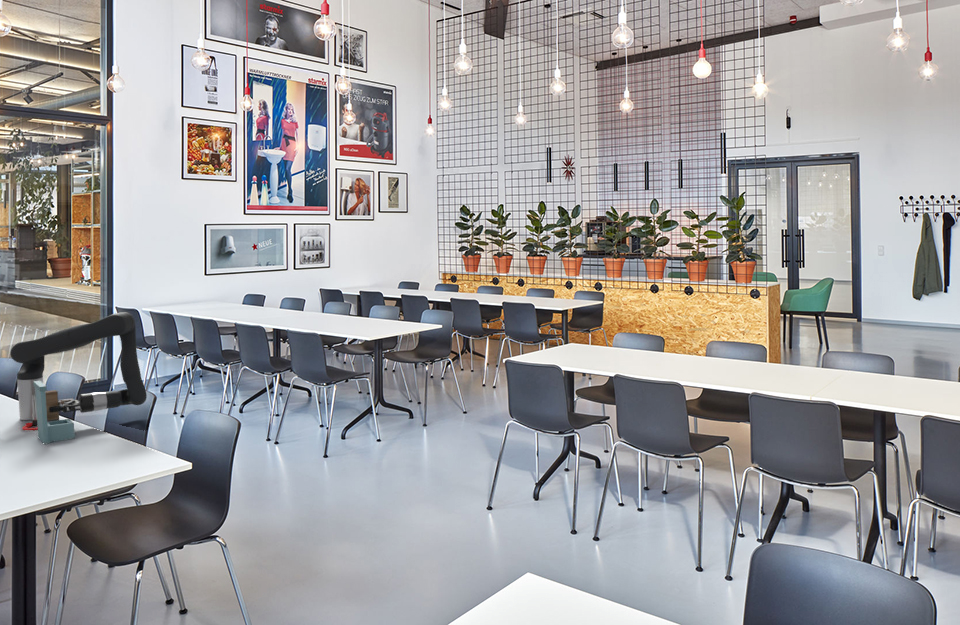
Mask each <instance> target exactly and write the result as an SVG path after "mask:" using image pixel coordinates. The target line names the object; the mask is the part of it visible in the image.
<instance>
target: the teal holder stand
mask: <svg viewBox="0 0 960 625" xmlns="http://www.w3.org/2000/svg"><path fill="white" fill-rule="evenodd" d="M33 384H34V387H35V393H36V409H37V424H38V426H37V427H38V430H37V437H39V438H40V439H39V438H38V439H39V440H40V442H41V443H42V442H43V443H44V444H43V443H42V444H43V445H46V443H52V442H51V441H54V442H59V441H58V440H60V441H65V440H64V439H66V440H70V438H73V439H75V438H76V437H75V436H76V435H75V423H74V422H73V420H72V419H70V418H65V419H59V420H57V421H50V422H47V410H46V394H45V391H48V388H47V385H46V384H45V383H44V382H43V383H42V382H41V381H33Z"/></svg>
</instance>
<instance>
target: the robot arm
mask: <svg viewBox="0 0 960 625" xmlns="http://www.w3.org/2000/svg"><path fill="white" fill-rule="evenodd" d="M136 334H137V333H136V321H135V318H134V316H133V315H132V314H131V313H130V312H126V311H122V312H121V311H120V312H117V313H112V314H109V315H108V316H105V317H103V318H101V319H99V320H96V321H93V322H90V323H89V322H87V323H82V324H77V325H73V326H69V327H67V328H63V329H60V330H58V331H55V332H52V333H50V334H48V335H45V336H43V337H39V338H37V339H29V340H24V341H20V342H17V343H16V344H14V345H13V346H12V347H11V349H10V354H9V355H10V357H11V359H12V361H14V362H16V363H18V364H22V366H21V368H20V369H19V370H18V371H17V373H16V378H17V392H18V395H17V396H18V409H19V420H20V421H32V419H33V416H32V414H33V407H32V400H33V399H32V395H34V396H35V401H36V393H35V387H34V384H33V381H41V382H42V383H43V384H44V377H43V376H44V372H45V367H46V366H45V356H47V355H52V354H58V353H64V352H68V351H72V350H75V349H79V348H82V347H85V346H87V345H89V344H91V343H93V342H95V341H98V340H101V339H104V338H105V339H106V338H110V337H117V336H119V338H120V344H121V350H120V357H119V358H120V359H119V362H120V364H119V366H120V367H119V368H120V371H121V377H122V381H123V383H124V384H125V385H126V388H124V389H120V390H111V391H99V392H98V391H97V392H89V393H87V392H86V393H80V394H78V399H74V398H72V397H71V398H65V399H58V406H53V407H49V412H50V413H52V412H59V413H60V412H61V413H69V412H77V411H78V412H80V413H81V414H83V413H90V412H98V411H103V410H107V409H115V408H119V407H120V406H128V405H132V406H133V405H134V406H141V405H143V404H144V403H145V402H146V400H147V397H148V396H147V390H146V386H145V384H144V382H143V380H142V374H141V369H140V364H139V359H138V353H137V352H138V350H137V338H136V337H137V336H136ZM36 413H37V409H36Z"/></svg>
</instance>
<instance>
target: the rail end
mask: <svg viewBox="0 0 960 625" xmlns="http://www.w3.org/2000/svg"><path fill="white" fill-rule="evenodd" d="M58 393H59V391H58V390H56V389H55V390H53V389H52V390H47V391H45V394H46V410H47V422H50V421H57V420H60V411H59V412H52V413H50V412H49V407H53V406H58V400H59V394H58Z"/></svg>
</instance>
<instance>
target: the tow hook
mask: <svg viewBox="0 0 960 625" xmlns="http://www.w3.org/2000/svg"><path fill="white" fill-rule="evenodd" d="M32 399H33V400H32V407H33V414H32V416H33V419H32V420H31V422H26V423H25V425H24V426H22V428H21V429H22V431H25V430H33V431H38V426H36V425H38V424H37V413H36V401H35V396H34V395H32Z"/></svg>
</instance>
